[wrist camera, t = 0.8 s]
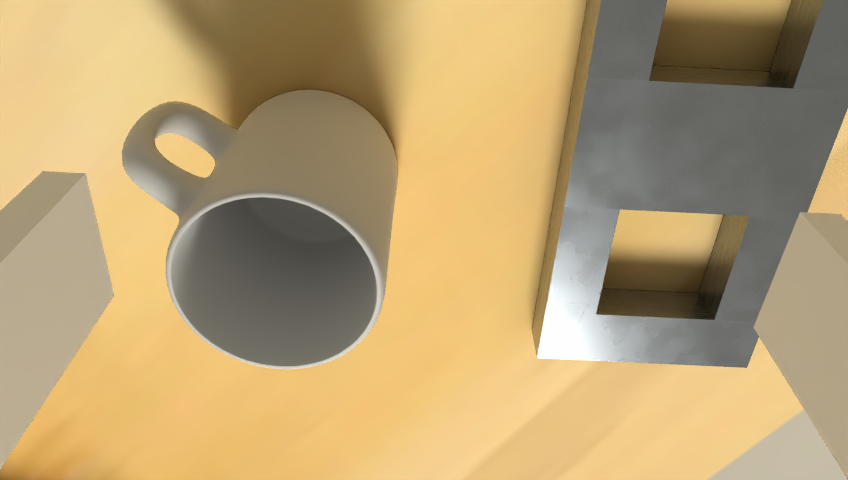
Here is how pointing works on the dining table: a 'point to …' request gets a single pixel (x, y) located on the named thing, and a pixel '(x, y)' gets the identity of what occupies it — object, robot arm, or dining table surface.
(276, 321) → the mug
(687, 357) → the square hole plate
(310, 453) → the dining table surface
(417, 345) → the dining table surface
